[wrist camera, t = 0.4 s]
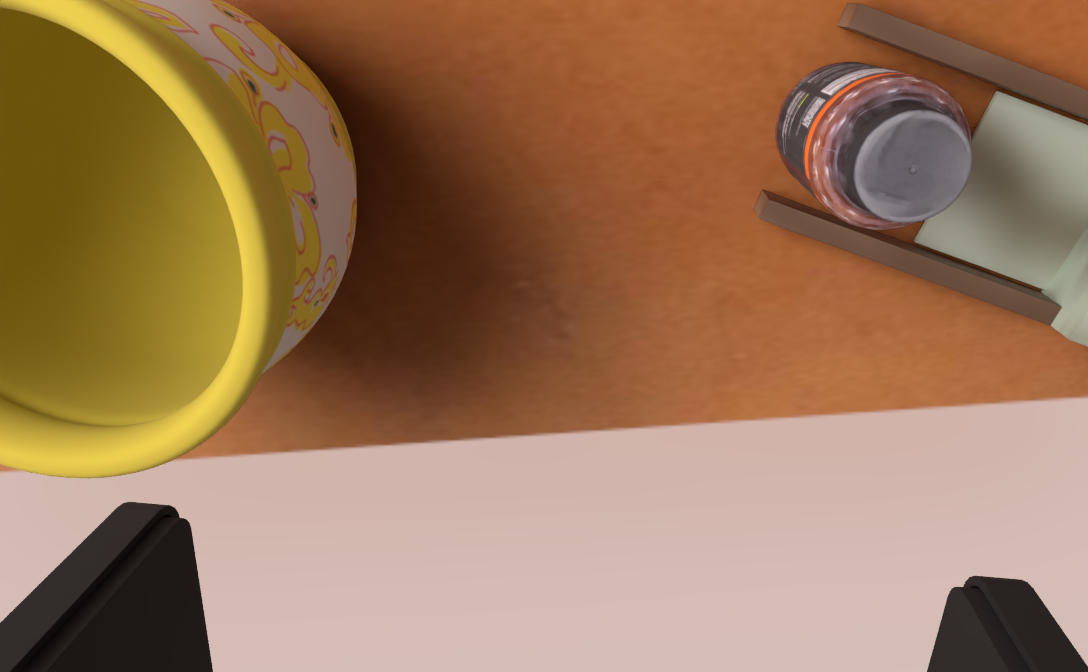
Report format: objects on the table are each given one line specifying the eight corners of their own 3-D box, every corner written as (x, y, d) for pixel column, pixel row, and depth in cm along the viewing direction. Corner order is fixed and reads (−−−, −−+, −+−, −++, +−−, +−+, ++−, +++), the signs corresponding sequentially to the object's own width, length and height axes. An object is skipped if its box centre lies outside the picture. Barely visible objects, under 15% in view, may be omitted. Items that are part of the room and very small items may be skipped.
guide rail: (847, 3, 37) (871, 3, 33) (1174, 127, 37) (1234, 141, 34) (753, 208, 41) (765, 229, 37) (1051, 317, 41) (1092, 348, 38)
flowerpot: (80, -84, 39) (-274, -138, 23) (441, 49, 39) (325, 81, 24) (47, 259, 46) (-242, 388, 30) (354, 366, 46) (221, 544, 31)
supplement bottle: (895, 185, 40) (990, 252, 29) (769, 189, 40) (818, 256, 30) (909, 56, 37) (1017, 77, 27) (776, 62, 38) (831, 86, 28)
